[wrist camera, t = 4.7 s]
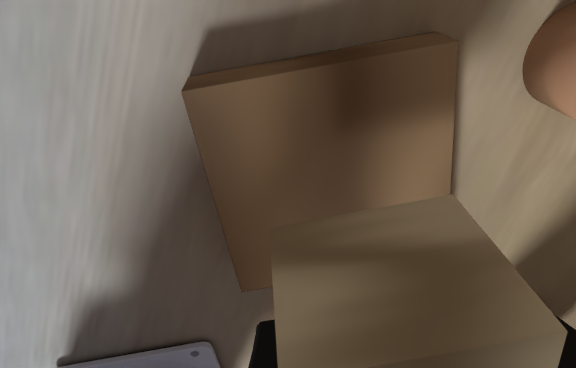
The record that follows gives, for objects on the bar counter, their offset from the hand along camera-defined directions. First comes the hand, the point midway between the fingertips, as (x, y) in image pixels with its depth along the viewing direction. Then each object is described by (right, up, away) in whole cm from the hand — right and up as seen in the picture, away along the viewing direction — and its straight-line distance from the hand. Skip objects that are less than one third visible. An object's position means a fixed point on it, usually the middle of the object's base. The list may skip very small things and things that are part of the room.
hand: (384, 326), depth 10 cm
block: (0, +1, +2) cm, 2 cm away
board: (-1, +5, +8) cm, 9 cm away
